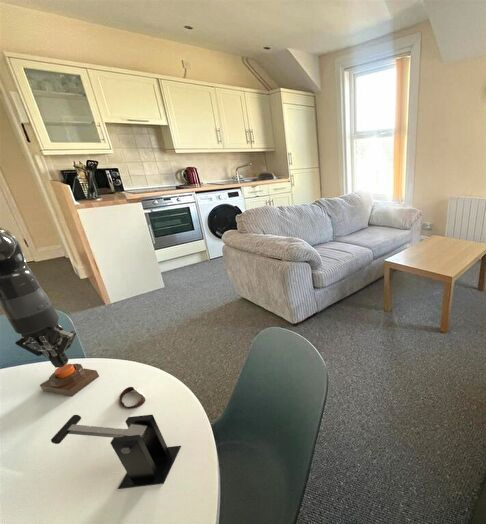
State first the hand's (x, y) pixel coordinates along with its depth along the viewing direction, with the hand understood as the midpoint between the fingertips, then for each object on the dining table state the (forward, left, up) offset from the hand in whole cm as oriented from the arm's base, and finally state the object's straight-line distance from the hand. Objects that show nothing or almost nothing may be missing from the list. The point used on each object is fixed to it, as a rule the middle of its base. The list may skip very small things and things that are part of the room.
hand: (62, 365), depth 75 cm
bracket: (+35, -26, -7) cm, 44 cm away
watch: (+21, -9, -7) cm, 24 cm away
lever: (+30, -26, +4) cm, 40 cm away
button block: (0, 0, -7) cm, 7 cm away
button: (0, 0, -3) cm, 3 cm away
